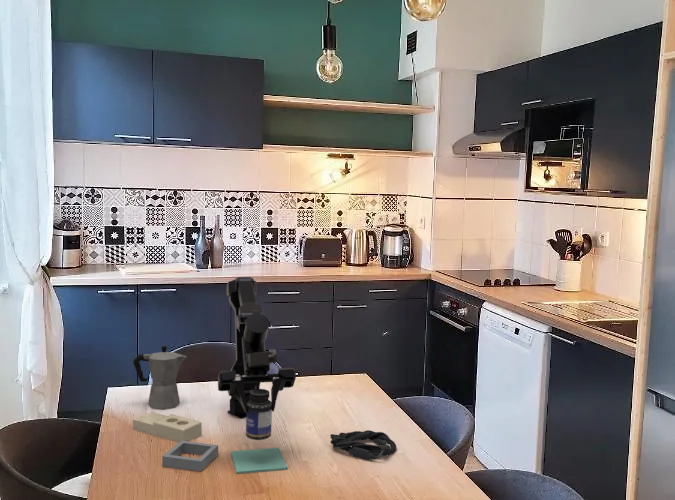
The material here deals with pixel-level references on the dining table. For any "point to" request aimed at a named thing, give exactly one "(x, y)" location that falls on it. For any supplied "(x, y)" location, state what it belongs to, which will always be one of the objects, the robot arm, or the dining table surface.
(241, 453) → the mat
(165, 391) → the coffeepot
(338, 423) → the dining table surface
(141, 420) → the electrical outlet
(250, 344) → the robot arm
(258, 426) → the pill bottle
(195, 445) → the collar
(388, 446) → the cable
